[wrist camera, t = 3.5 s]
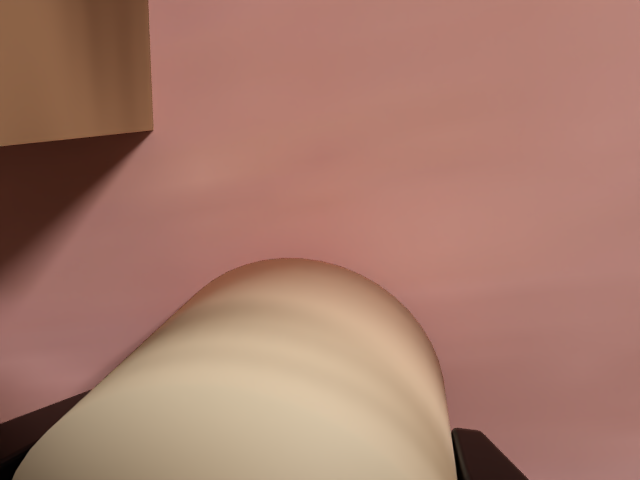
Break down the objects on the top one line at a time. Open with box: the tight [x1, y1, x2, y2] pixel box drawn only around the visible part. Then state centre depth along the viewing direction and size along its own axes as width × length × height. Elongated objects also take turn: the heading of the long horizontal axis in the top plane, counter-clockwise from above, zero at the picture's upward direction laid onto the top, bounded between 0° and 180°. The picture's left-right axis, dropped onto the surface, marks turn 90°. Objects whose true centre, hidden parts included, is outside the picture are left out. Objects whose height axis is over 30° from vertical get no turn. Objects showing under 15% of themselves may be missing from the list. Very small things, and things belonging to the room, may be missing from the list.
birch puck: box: [12, 258, 457, 480], centre depth 7 cm, size 5×5×4 cm
